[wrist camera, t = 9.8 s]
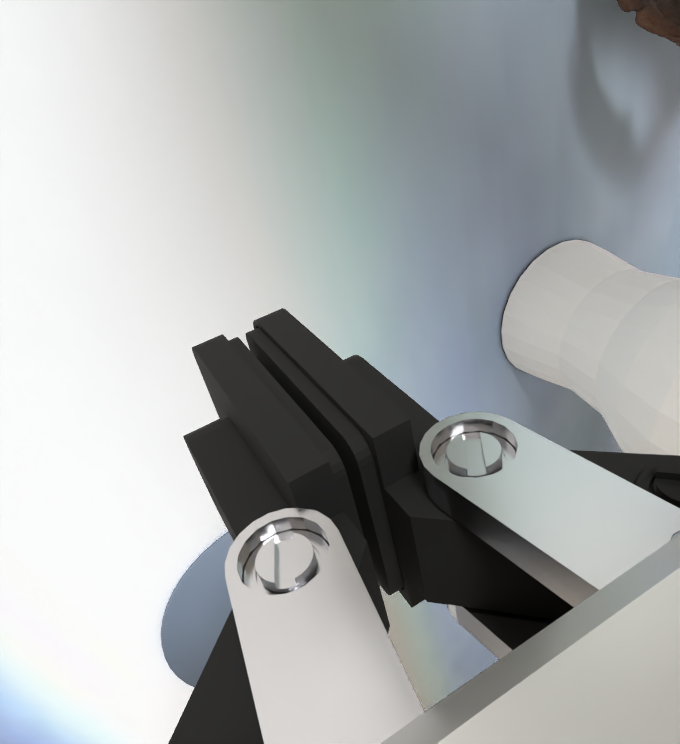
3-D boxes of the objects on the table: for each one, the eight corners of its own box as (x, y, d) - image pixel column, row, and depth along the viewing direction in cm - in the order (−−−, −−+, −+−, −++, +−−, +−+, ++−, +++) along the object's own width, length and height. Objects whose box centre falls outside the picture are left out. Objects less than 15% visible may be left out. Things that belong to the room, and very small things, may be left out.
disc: (118, 588, 28) (119, 591, 28) (361, 459, 32) (363, 461, 32) (209, 725, 35) (210, 728, 35) (398, 607, 39) (400, 609, 39)
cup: (653, 240, 35) (989, 340, 24) (570, 403, 38) (832, 563, 27) (534, 184, 29) (905, 282, 18) (448, 382, 32) (715, 577, 21)
